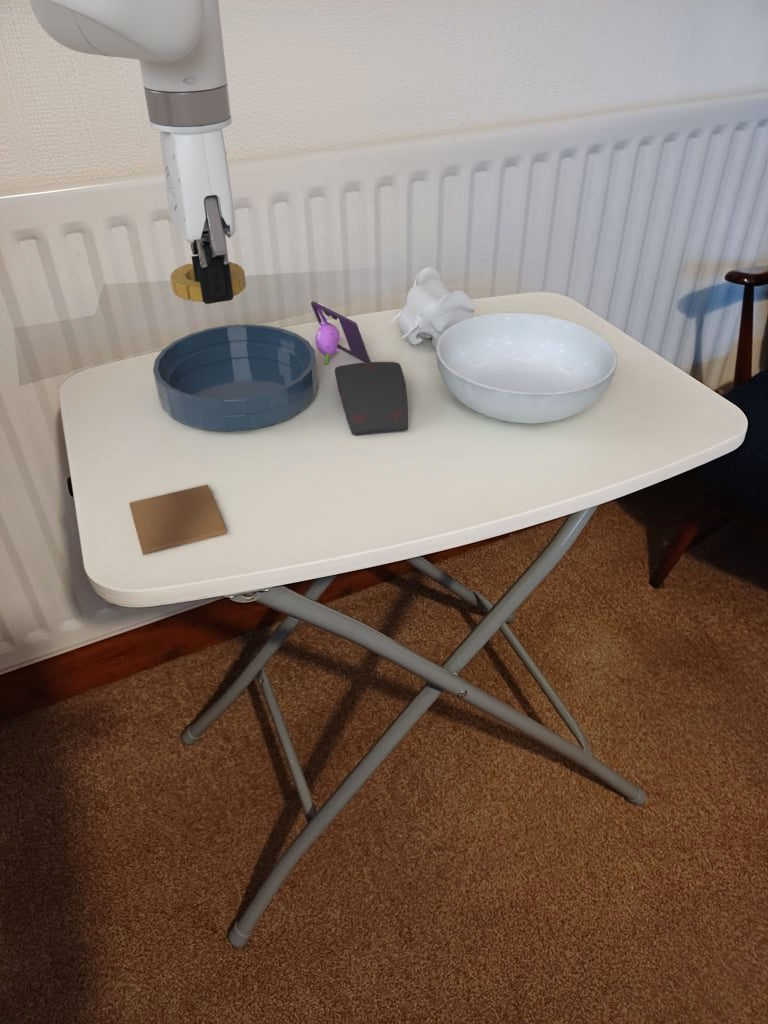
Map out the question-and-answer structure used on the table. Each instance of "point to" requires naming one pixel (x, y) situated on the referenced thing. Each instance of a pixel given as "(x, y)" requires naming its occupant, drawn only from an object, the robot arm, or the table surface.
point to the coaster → (176, 519)
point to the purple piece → (338, 335)
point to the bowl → (236, 377)
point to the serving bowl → (525, 366)
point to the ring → (191, 290)
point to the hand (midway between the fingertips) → (215, 294)
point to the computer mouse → (373, 397)
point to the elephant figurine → (432, 308)
